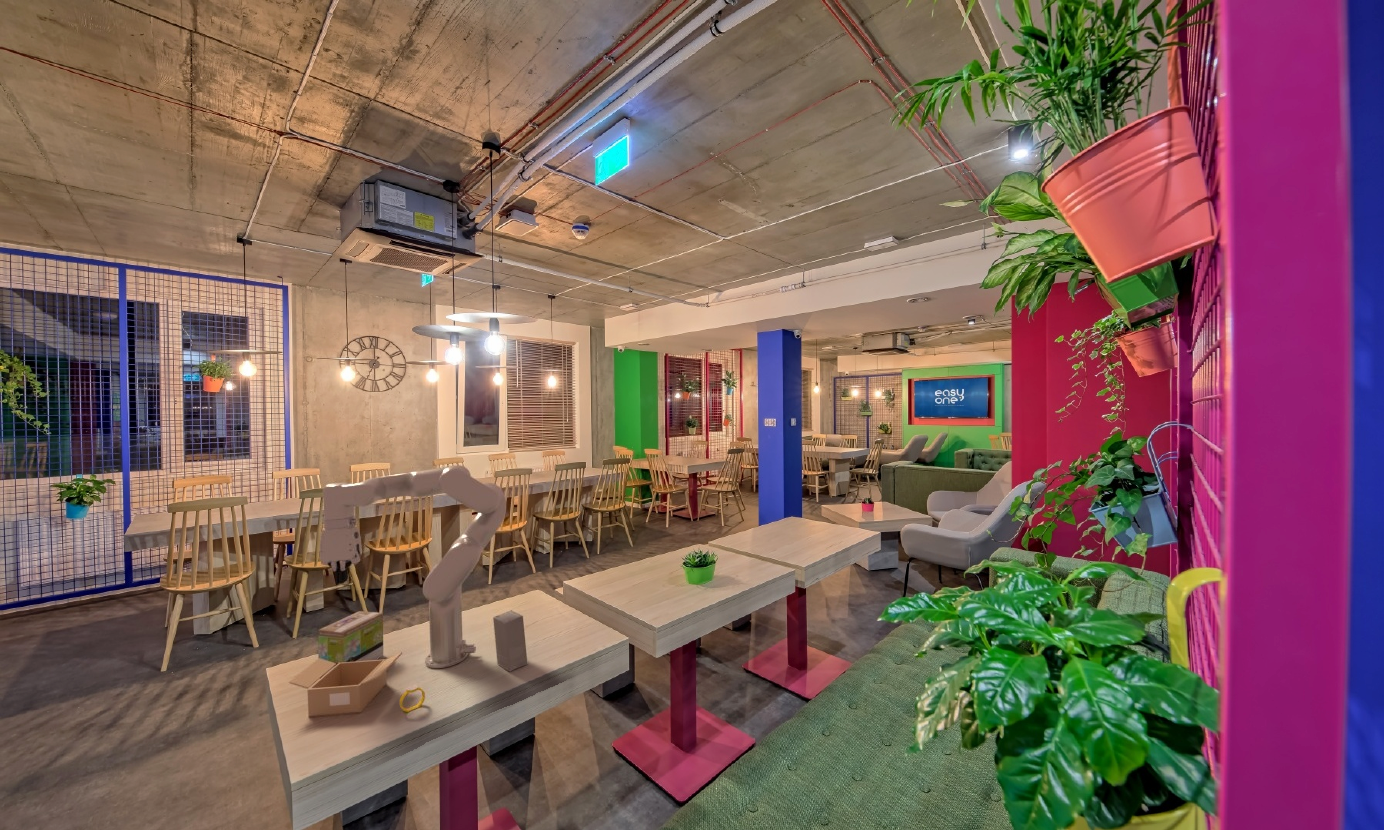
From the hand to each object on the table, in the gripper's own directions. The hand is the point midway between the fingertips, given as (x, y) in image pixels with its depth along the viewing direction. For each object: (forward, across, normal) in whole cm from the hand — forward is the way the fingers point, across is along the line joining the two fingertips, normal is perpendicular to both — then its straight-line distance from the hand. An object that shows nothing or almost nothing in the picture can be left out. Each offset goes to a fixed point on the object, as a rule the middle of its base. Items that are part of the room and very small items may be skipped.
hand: (341, 582), depth 152 cm
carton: (+29, -9, +14) cm, 34 cm away
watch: (+29, -29, +21) cm, 46 cm away
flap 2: (+20, -18, +14) cm, 31 cm away
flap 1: (+20, 0, +14) cm, 25 cm away
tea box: (+29, +1, -6) cm, 30 cm away
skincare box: (+29, -50, +1) cm, 58 cm away
